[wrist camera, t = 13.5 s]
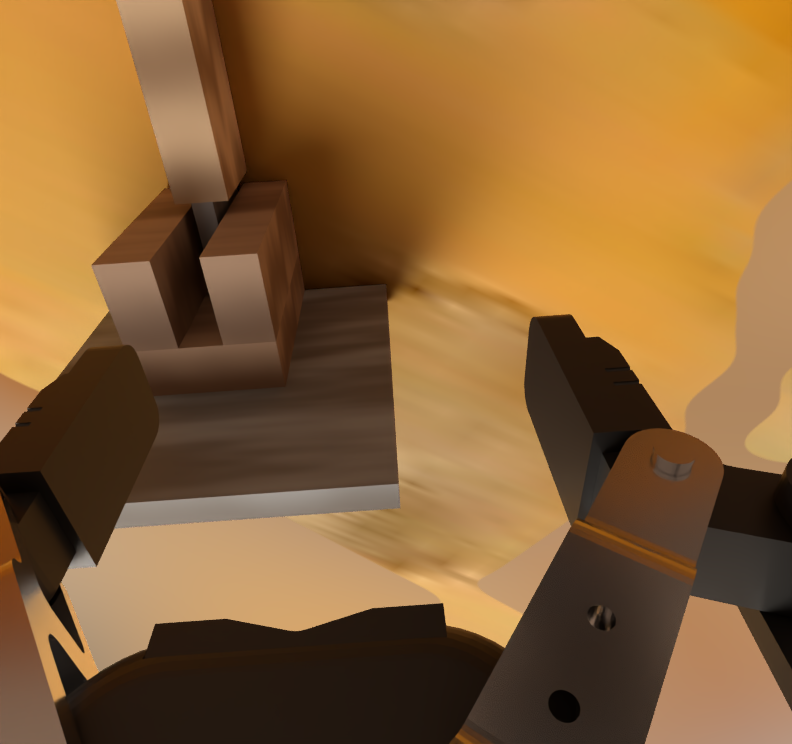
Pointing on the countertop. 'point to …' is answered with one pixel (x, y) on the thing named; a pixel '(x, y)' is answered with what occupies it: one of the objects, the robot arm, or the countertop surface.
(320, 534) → the countertop surface
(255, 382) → the slotted block base plate
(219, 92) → the rail
